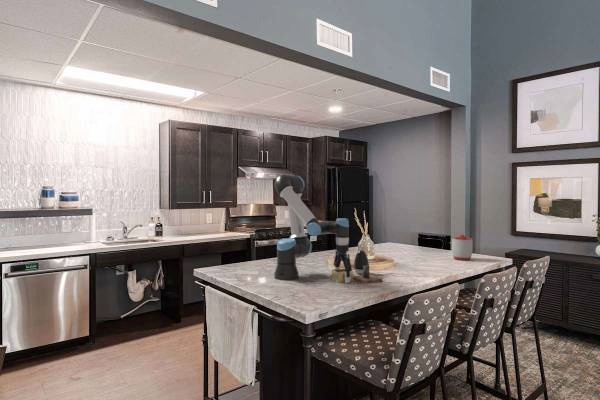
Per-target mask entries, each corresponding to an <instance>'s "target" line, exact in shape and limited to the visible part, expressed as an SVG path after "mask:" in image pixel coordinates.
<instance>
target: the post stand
mask: <svg viewBox="0 0 600 400" xmlns="http://www.w3.org/2000/svg"><path fill="white" fill-rule="evenodd" d="M353 281H355V282H357V283H359V284H361V285H362V284H373V283H383V282H384V280H383V278H380V277H378V276H375V275H374V274H370V265H369V266H367V265H364V266H363V274H358V275H353Z"/></svg>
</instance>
